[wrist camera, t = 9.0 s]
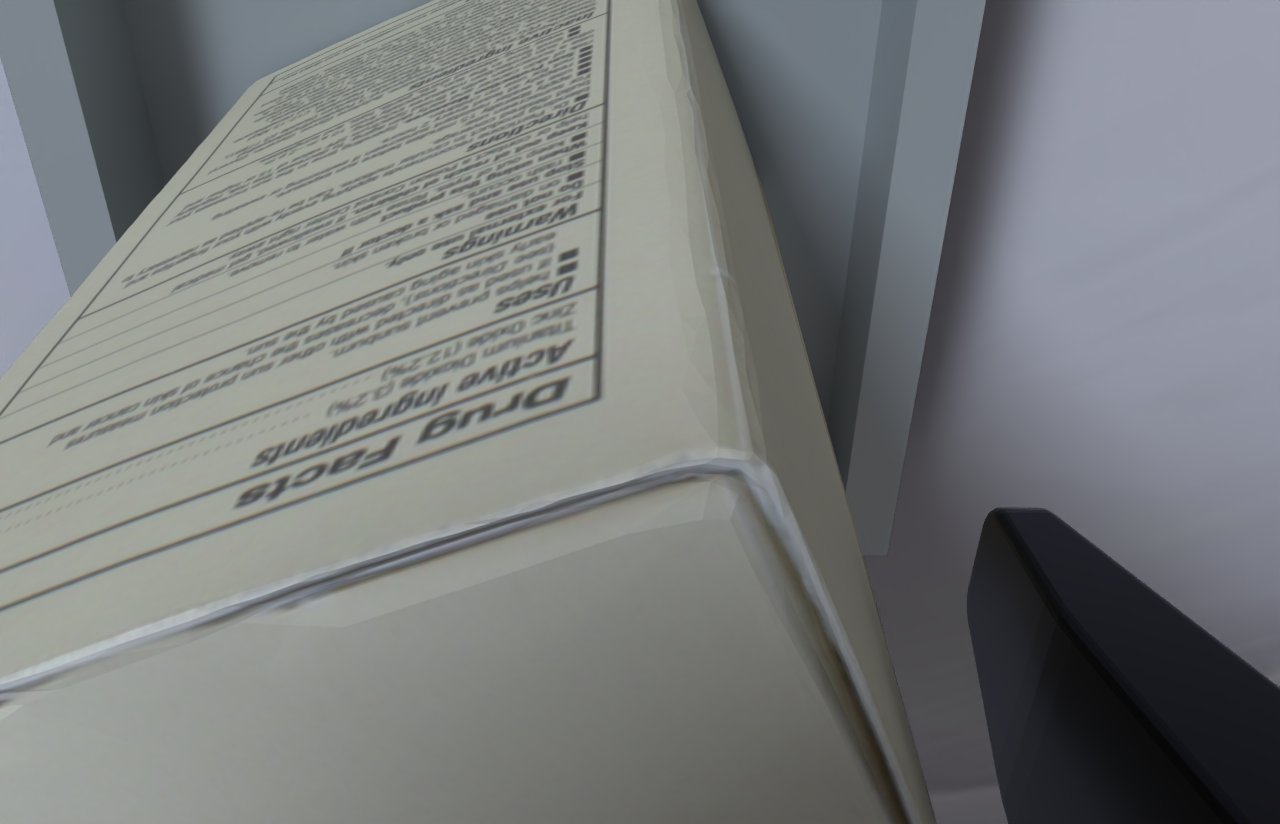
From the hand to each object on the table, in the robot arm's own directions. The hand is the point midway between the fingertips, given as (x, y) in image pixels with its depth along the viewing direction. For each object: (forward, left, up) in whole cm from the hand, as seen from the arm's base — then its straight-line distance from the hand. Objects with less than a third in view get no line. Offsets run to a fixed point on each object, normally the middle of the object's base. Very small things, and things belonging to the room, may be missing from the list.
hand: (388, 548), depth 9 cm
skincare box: (0, 0, -9) cm, 9 cm away
